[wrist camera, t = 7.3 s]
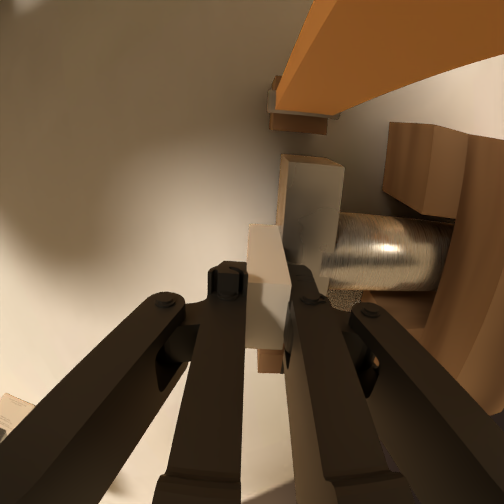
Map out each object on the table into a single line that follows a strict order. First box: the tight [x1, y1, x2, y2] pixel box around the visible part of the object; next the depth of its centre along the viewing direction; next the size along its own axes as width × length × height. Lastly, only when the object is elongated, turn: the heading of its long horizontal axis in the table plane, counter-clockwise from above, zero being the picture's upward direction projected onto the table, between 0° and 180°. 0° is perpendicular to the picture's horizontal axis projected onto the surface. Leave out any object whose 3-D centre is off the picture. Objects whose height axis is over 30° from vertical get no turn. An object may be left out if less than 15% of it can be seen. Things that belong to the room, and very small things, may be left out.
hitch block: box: [257, 76, 504, 416], centre depth 14 cm, size 15×16×9 cm
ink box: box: [0, 393, 35, 443], centre depth 20 cm, size 9×5×15 cm, turn 170°
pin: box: [276, 154, 455, 343], centre depth 16 cm, size 18×9×4 cm, turn 87°
